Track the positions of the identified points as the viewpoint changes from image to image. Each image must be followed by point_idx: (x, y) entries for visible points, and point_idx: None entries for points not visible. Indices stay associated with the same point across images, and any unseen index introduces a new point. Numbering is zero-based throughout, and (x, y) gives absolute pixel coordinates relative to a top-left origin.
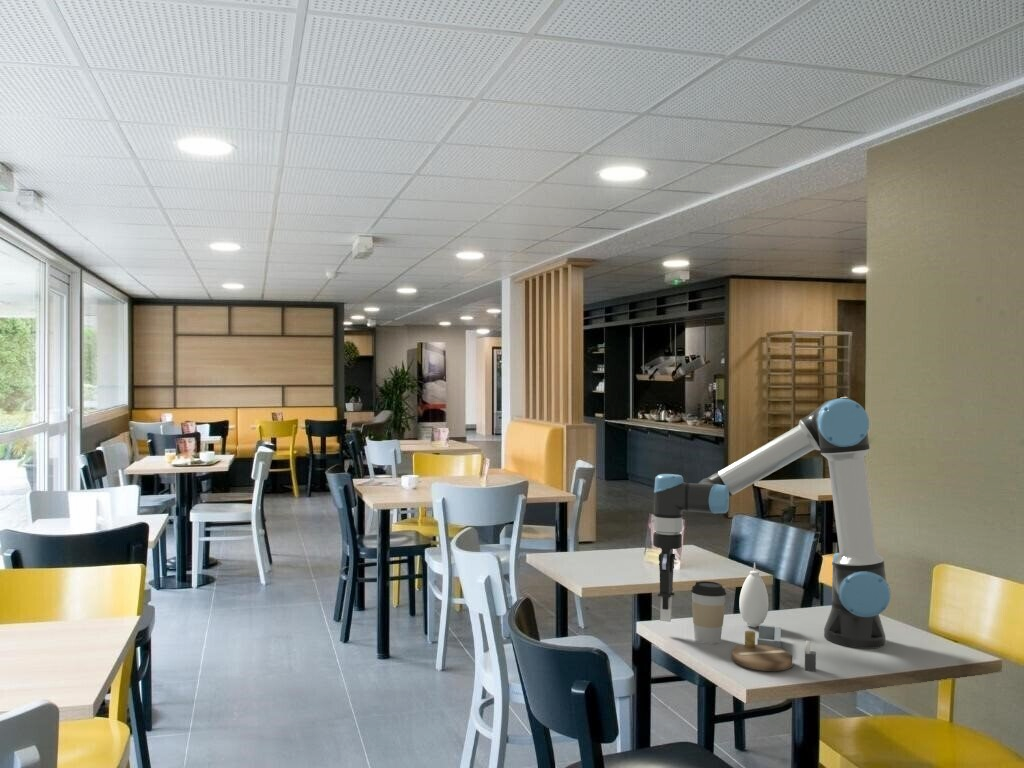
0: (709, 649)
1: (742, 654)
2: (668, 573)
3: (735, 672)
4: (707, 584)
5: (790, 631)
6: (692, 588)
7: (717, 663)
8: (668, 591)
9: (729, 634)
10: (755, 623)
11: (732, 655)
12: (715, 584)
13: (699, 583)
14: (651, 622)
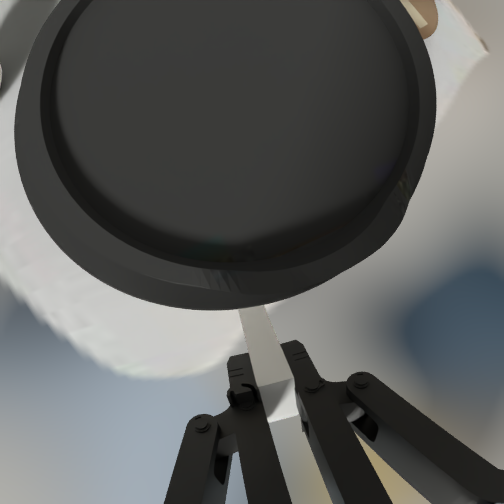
0: None
1: (422, 20)
2: (486, 461)
3: (446, 51)
4: (179, 92)
5: (10, 10)
6: (326, 279)
7: None
8: (389, 391)
9: None
10: (1, 70)
11: None
12: (105, 8)
13: (183, 245)
14: (138, 372)
